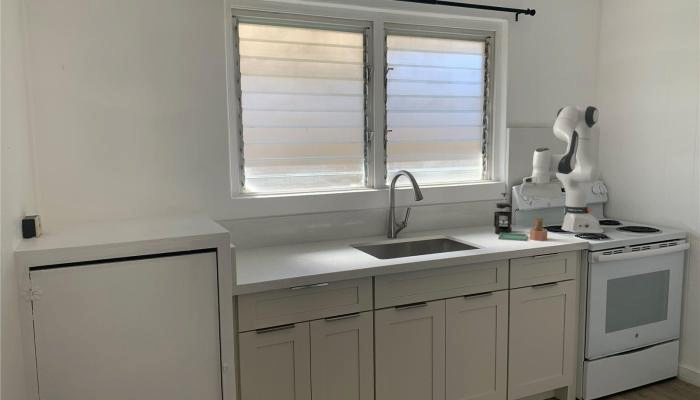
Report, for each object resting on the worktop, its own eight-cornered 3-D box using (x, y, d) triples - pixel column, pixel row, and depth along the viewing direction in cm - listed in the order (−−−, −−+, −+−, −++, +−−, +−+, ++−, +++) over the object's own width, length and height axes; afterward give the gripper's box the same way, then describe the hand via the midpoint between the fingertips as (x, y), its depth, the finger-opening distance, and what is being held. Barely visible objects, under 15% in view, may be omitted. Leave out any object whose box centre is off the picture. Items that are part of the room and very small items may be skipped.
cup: (546, 239, 284) (547, 228, 283) (546, 243, 276) (547, 231, 276) (530, 238, 287) (530, 227, 286) (529, 242, 279) (530, 230, 278)
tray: (526, 237, 290) (527, 234, 290) (525, 242, 277) (526, 239, 277) (500, 236, 295) (500, 232, 295) (498, 241, 282) (498, 237, 282)
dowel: (542, 238, 283) (542, 218, 281) (542, 239, 279) (542, 219, 278) (534, 238, 284) (535, 217, 282) (534, 239, 281) (535, 218, 279)
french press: (516, 234, 301) (517, 193, 298) (504, 235, 296) (505, 194, 293) (500, 230, 311) (502, 191, 308) (488, 232, 307) (490, 192, 304)
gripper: (562, 179, 277) (560, 205, 279) (520, 178, 284) (519, 204, 286) (562, 180, 271) (561, 207, 273) (520, 179, 278) (519, 205, 280)
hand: (539, 205), depth 279 cm, fingers open, 8 cm apart
